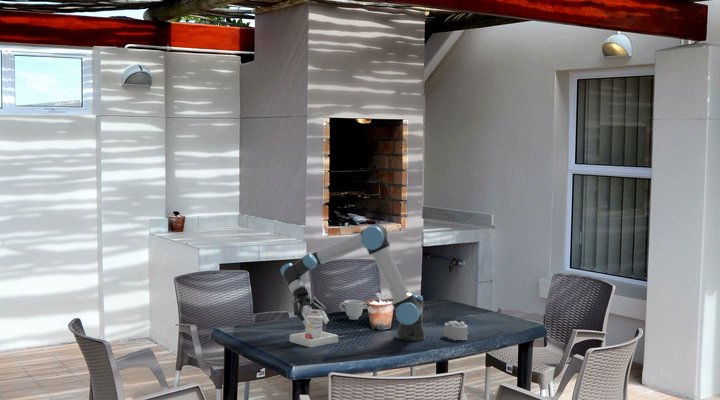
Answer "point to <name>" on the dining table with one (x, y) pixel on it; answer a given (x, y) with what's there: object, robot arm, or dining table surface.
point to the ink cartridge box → (314, 324)
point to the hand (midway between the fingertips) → (317, 323)
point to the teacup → (353, 308)
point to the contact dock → (326, 339)
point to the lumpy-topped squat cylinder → (455, 330)
